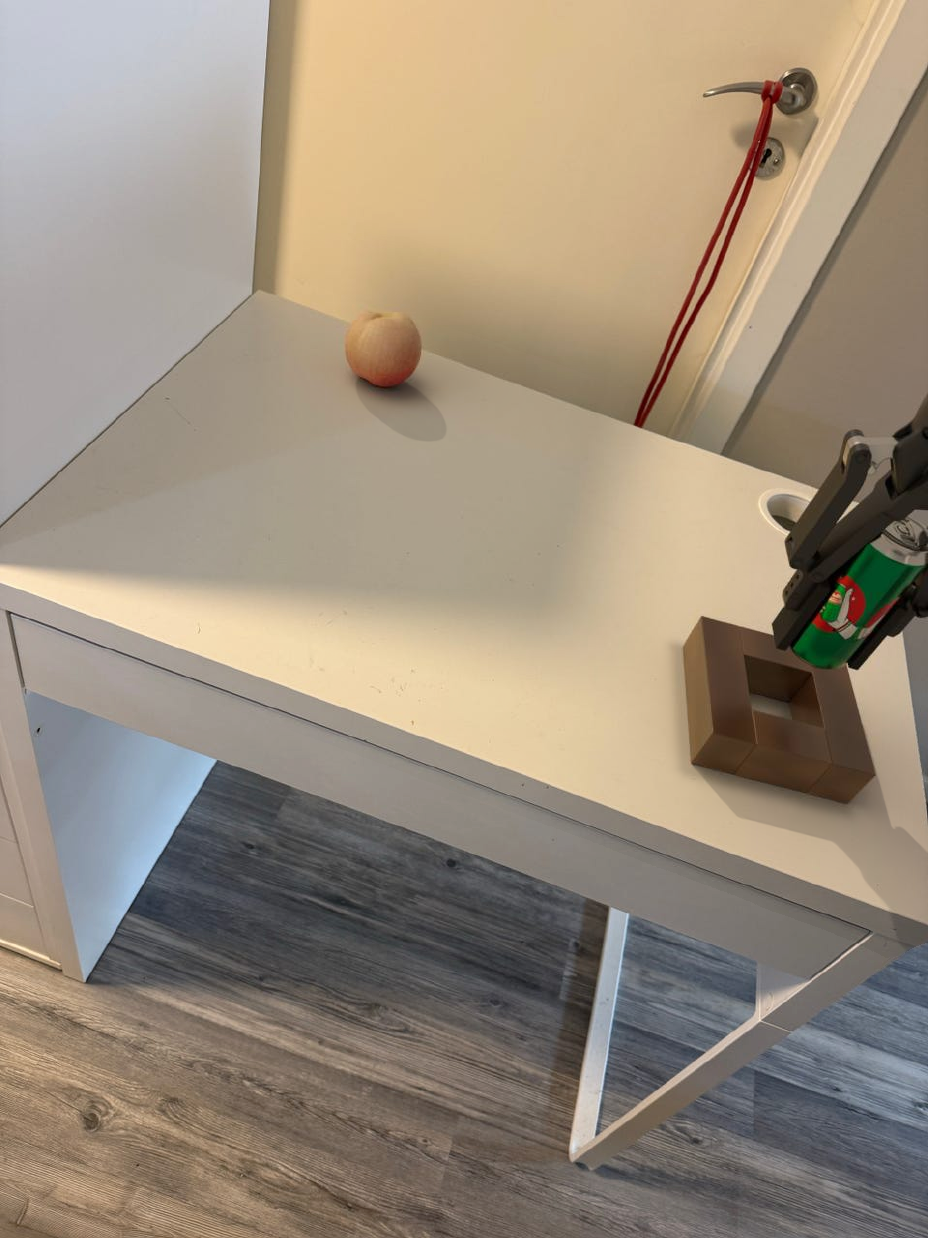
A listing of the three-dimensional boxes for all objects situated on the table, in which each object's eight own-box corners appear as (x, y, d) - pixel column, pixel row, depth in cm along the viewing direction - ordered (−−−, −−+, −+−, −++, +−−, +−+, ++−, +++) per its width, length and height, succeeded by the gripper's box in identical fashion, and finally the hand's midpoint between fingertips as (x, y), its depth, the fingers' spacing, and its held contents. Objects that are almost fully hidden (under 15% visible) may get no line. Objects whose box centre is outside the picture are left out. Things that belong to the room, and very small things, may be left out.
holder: (820, 683, 76) (843, 653, 73) (848, 804, 66) (876, 775, 64) (682, 646, 75) (701, 615, 72) (690, 763, 66) (712, 732, 63)
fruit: (386, 356, 99) (397, 291, 94) (426, 392, 96) (440, 326, 90) (328, 366, 95) (336, 298, 89) (368, 404, 91) (379, 336, 86)
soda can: (834, 631, 67) (925, 514, 59) (852, 679, 63) (952, 562, 55) (775, 619, 66) (859, 498, 58) (789, 667, 63) (881, 546, 54)
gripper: (1137, 388, 52) (912, 642, 68) (859, 306, 51) (698, 584, 67) (1197, 455, 46) (937, 713, 62) (887, 364, 45) (705, 651, 61)
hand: (814, 646), depth 65 cm, fingers closed on soda can, 5 cm apart
